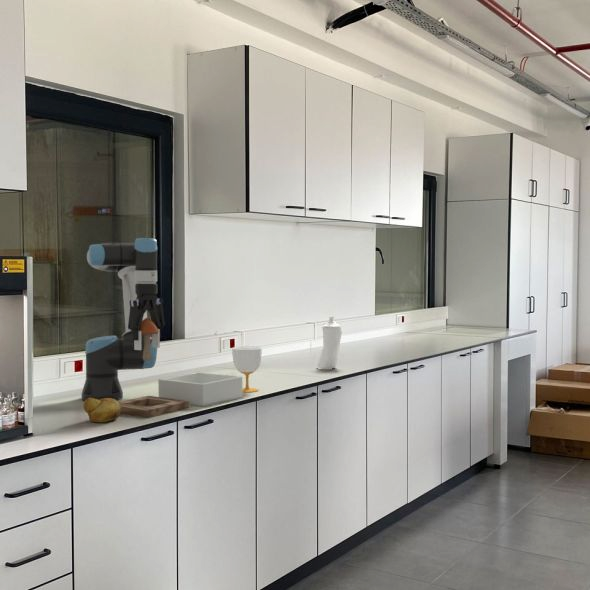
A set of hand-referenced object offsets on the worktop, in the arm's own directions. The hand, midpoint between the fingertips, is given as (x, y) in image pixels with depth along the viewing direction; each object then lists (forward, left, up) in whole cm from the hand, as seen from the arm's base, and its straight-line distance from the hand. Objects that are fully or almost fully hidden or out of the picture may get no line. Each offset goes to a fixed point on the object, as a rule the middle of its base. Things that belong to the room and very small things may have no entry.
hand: (147, 348), depth 261 cm
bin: (+20, +16, -21) cm, 33 cm away
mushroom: (0, 0, -4) cm, 4 cm away
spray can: (+89, +85, -22) cm, 125 cm away
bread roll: (-14, -14, -22) cm, 29 cm away
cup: (+40, +31, -22) cm, 55 cm away
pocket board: (0, 0, -21) cm, 21 cm away
